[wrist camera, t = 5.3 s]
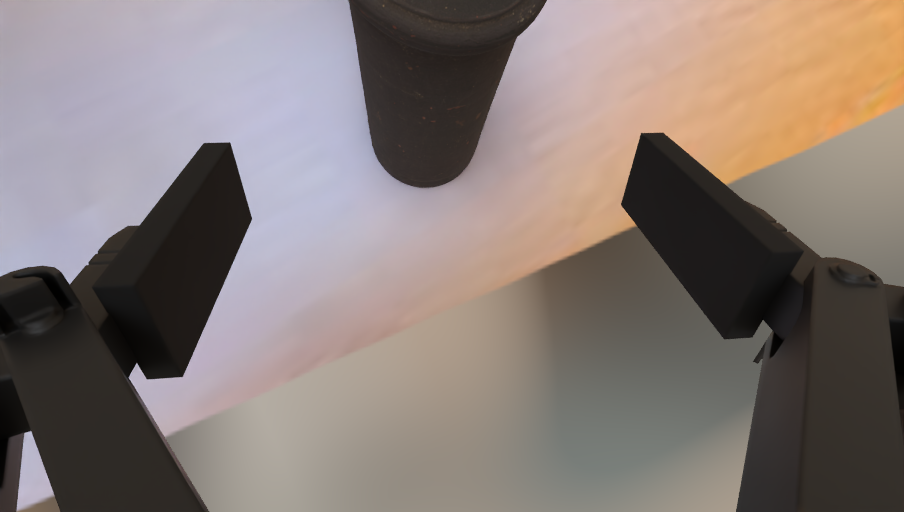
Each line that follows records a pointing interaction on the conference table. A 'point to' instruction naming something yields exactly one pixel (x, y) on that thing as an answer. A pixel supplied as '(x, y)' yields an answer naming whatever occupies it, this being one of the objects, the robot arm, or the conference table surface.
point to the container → (433, 78)
